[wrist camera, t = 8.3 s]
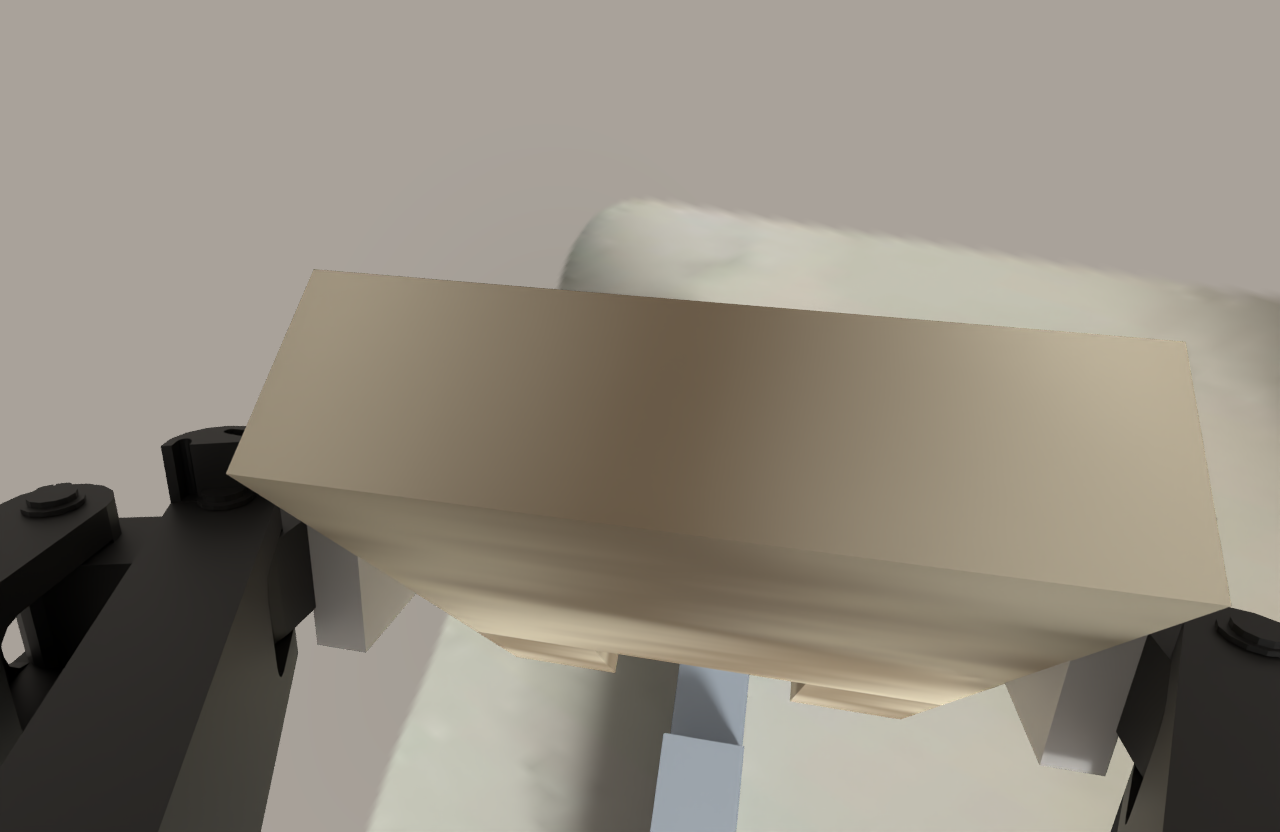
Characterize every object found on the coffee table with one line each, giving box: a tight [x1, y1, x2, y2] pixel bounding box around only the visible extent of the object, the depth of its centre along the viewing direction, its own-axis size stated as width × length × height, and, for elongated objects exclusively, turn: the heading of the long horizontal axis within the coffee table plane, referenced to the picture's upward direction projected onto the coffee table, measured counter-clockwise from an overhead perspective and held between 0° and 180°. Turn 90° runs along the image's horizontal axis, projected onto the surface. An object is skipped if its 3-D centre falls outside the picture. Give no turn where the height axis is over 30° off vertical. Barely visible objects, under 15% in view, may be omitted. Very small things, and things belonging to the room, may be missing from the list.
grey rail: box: [650, 664, 749, 832], centre depth 27 cm, size 2×24×6 cm, turn 171°
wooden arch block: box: [226, 269, 1231, 719], centre depth 13 cm, size 9×2×12 cm, turn 81°
